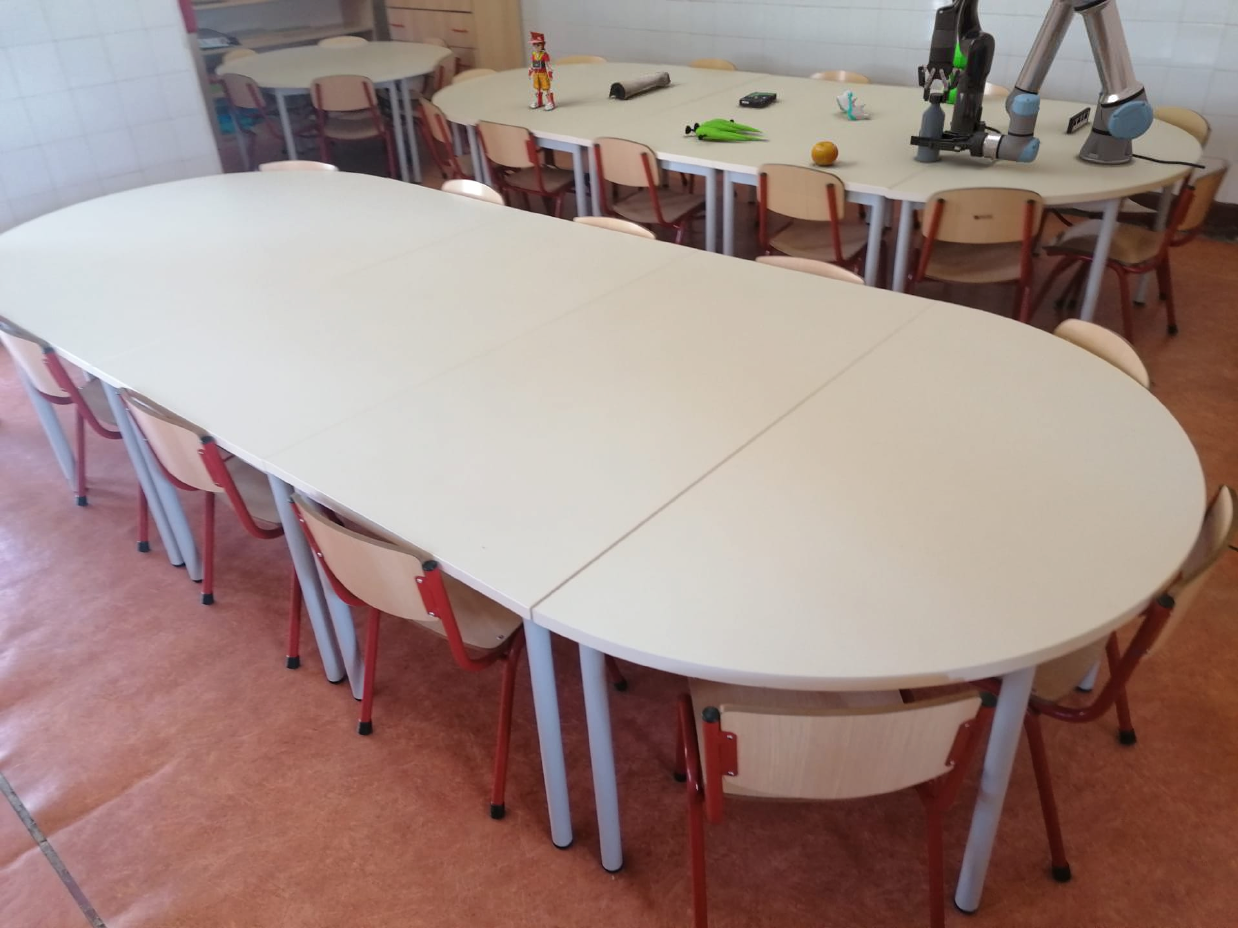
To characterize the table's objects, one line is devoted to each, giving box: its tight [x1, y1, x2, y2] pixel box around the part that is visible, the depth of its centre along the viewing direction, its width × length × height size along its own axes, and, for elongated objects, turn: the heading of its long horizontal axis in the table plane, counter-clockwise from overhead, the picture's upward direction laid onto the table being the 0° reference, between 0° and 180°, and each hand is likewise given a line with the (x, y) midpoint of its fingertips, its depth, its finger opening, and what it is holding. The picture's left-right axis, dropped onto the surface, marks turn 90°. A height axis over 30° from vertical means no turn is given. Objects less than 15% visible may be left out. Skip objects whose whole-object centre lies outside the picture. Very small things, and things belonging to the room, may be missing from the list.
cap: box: [928, 92, 943, 104], centre depth 286 cm, size 4×4×2 cm
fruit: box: [810, 140, 839, 166], centre depth 296 cm, size 8×8×8 cm
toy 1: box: [527, 31, 556, 111], centre depth 374 cm, size 12×9×30 cm
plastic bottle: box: [942, 42, 967, 104], centre depth 348 cm, size 10×10×25 cm
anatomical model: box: [836, 89, 870, 121], centre depth 344 cm, size 15×10×10 cm
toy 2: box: [684, 118, 766, 141], centre depth 330 cm, size 28×5×30 cm
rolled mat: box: [608, 71, 672, 101], centre depth 395 cm, size 30×9×10 cm
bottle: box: [916, 103, 946, 163], centre depth 291 cm, size 7×7×20 cm
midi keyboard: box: [1066, 107, 1092, 134], centre depth 315 cm, size 18×1×5 cm, turn 138°
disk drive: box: [738, 91, 778, 109], centre depth 368 cm, size 10×3×15 cm
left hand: (935, 101), depth 286 cm, fingers open, 5 cm apart
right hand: (915, 137), depth 296 cm, fingers closed on bottle, 7 cm apart
